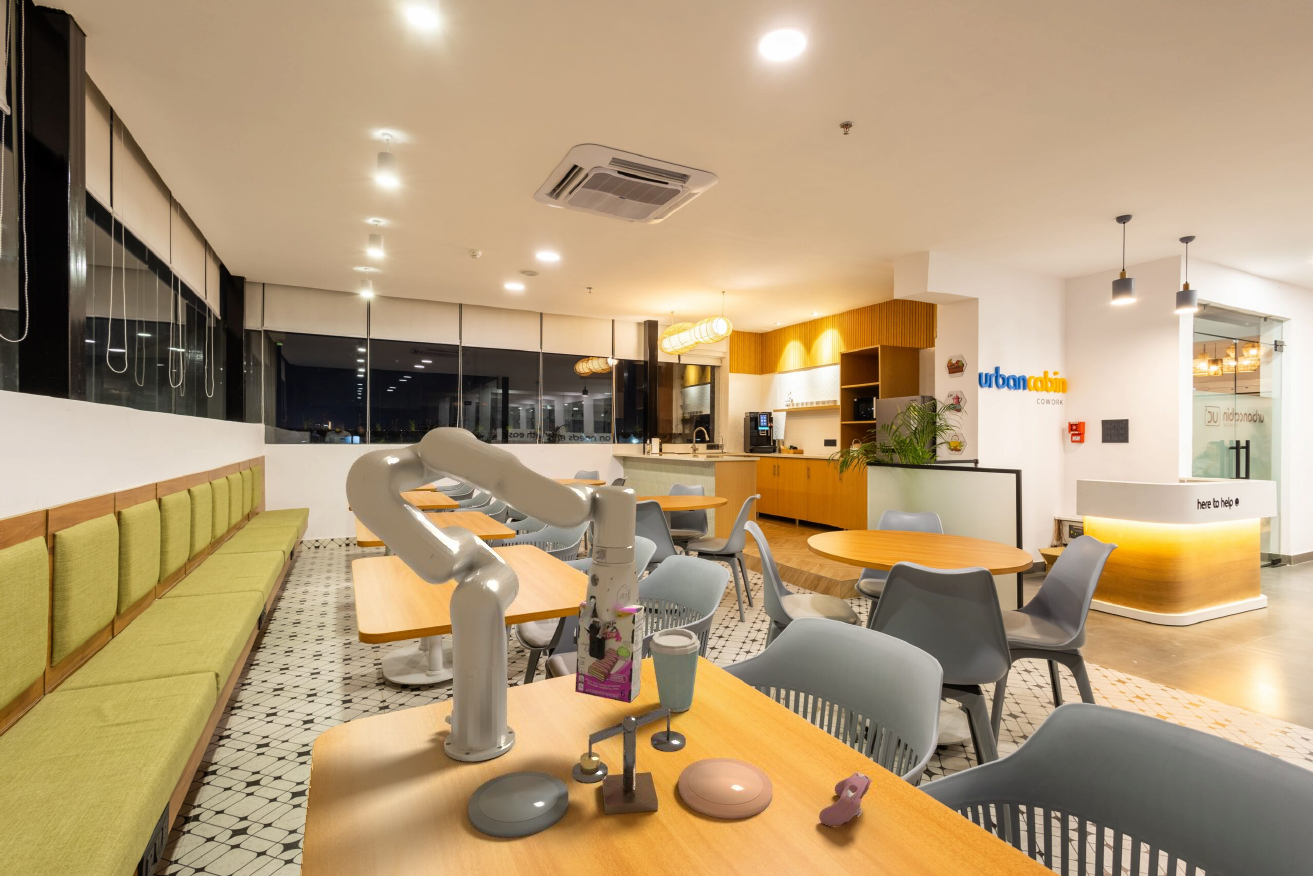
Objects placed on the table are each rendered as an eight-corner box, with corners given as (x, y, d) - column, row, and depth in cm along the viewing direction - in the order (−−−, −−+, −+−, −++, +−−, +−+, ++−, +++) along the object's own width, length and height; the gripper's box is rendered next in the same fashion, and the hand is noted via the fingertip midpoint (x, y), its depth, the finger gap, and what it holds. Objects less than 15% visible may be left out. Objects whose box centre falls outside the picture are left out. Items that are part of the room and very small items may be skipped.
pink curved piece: (842, 844, 89) (865, 808, 88) (815, 821, 91) (837, 785, 90) (859, 809, 98) (880, 776, 96) (833, 788, 100) (854, 755, 98)
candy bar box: (573, 693, 112) (577, 603, 112) (585, 683, 117) (589, 596, 117) (631, 705, 109) (635, 611, 108) (641, 694, 113) (645, 604, 113)
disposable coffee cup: (701, 718, 125) (702, 644, 125) (648, 717, 125) (648, 643, 125) (698, 695, 136) (699, 627, 135) (649, 695, 136) (650, 626, 136)
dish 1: (447, 811, 94) (447, 802, 94) (523, 768, 106) (523, 760, 106) (513, 852, 85) (513, 842, 85) (588, 800, 97) (588, 792, 97)
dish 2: (660, 794, 98) (660, 786, 98) (709, 755, 110) (710, 748, 110) (743, 832, 89) (743, 823, 89) (788, 785, 101) (788, 777, 101)
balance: (571, 817, 92) (572, 724, 92) (571, 787, 100) (572, 701, 100) (689, 808, 95) (690, 717, 95) (680, 779, 103) (681, 695, 103)
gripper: (596, 564, 103) (592, 672, 104) (658, 551, 117) (654, 645, 117) (564, 557, 108) (560, 660, 108) (627, 545, 122) (623, 636, 122)
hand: (609, 651), depth 113 cm, fingers closed on candy bar box, 6 cm apart
